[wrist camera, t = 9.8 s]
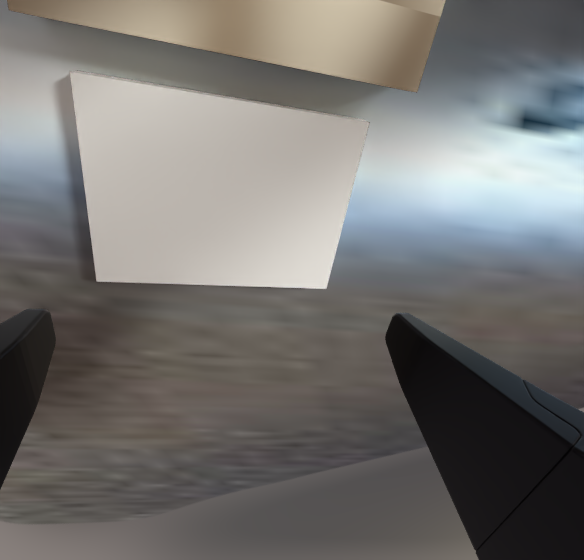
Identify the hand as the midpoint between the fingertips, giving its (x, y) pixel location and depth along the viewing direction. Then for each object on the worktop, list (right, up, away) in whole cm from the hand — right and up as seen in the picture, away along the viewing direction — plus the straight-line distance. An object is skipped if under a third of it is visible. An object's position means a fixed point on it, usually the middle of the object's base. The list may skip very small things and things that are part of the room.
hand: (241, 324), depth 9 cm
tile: (-2, +5, +8) cm, 10 cm away
